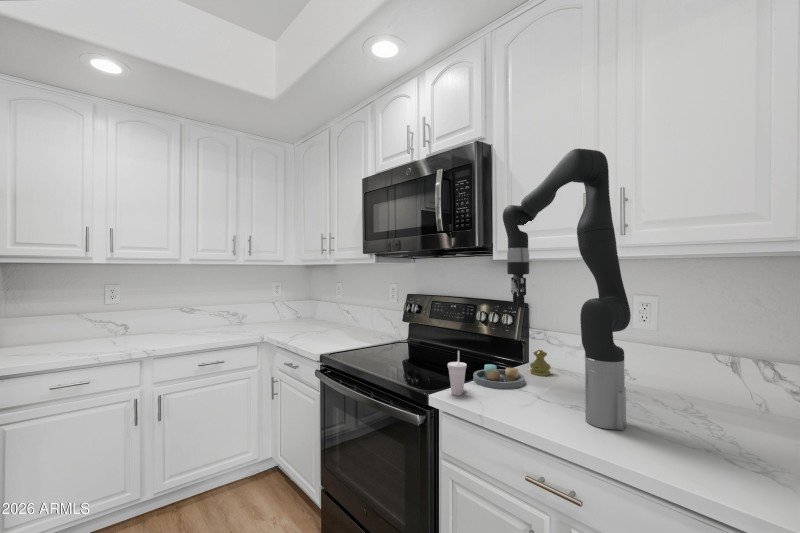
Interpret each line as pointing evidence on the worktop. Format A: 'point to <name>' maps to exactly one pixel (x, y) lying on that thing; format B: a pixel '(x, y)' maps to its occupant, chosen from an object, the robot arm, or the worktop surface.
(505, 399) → the worktop surface
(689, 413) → the worktop surface
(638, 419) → the worktop surface
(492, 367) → the teal bead
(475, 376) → the ring tray
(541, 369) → the olive chess piece
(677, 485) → the worktop surface
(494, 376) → the walnut bead
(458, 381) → the smoothie
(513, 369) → the oak bead
